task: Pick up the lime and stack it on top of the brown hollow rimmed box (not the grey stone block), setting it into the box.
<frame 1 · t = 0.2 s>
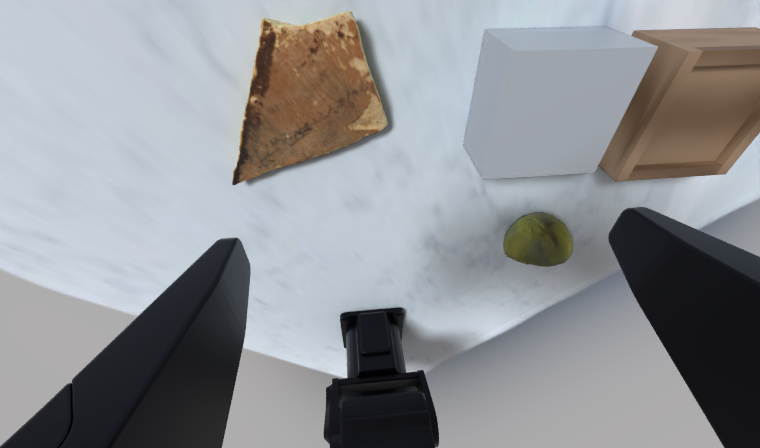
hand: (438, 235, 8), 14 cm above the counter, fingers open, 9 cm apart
lime: (522, 219, 29), on the counter
shard: (317, 111, 21), on the counter
grey stone block: (528, 92, 21), on the counter
brown hollow rimmed box: (659, 94, 22), on the counter
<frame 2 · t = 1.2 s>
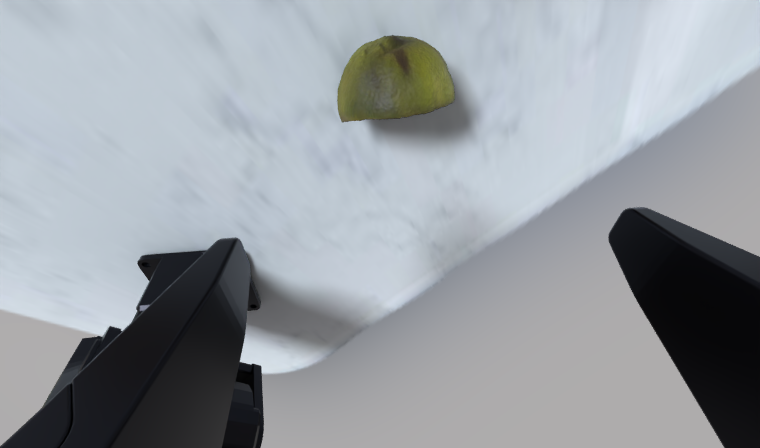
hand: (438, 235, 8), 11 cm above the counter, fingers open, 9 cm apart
lime: (385, 72, 17), on the counter
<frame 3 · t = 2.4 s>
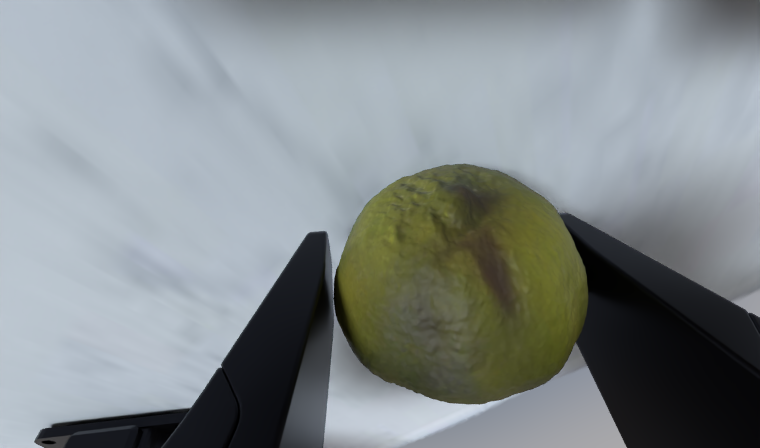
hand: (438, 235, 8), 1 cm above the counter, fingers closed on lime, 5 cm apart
lime: (421, 198, 9), on the counter, touching gripper
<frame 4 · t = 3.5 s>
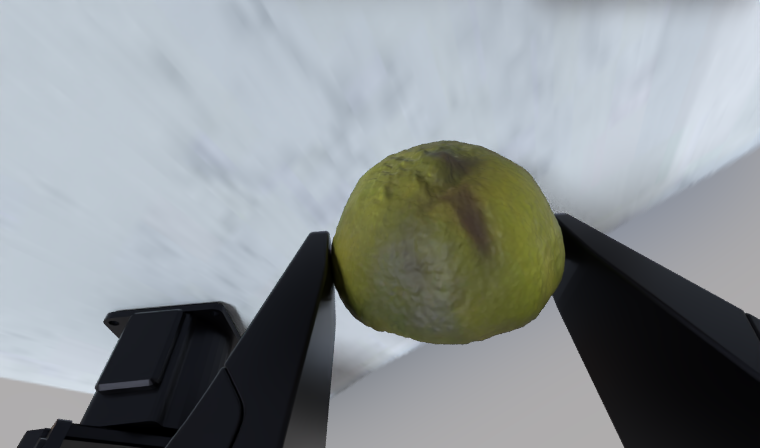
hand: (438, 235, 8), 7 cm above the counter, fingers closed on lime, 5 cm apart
lime: (414, 182, 10), point 5 cm above the counter, touching gripper
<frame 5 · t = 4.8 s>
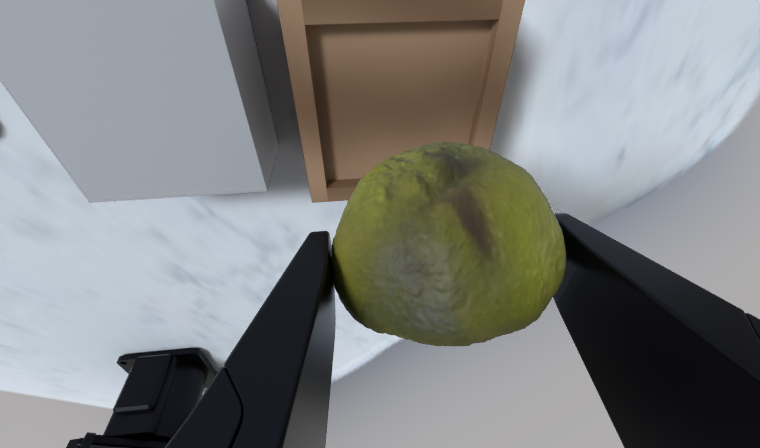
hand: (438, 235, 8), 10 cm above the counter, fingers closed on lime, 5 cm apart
lime: (414, 184, 10), point 8 cm above the counter, touching gripper
grey stone block: (178, 74, 14), on the counter
brown hollow rimmed box: (387, 78, 15), on the counter
when the fingers open (6 cm above the counter, at t = 5.9 s): lime stays where it is, resting on brown hollow rimmed box.
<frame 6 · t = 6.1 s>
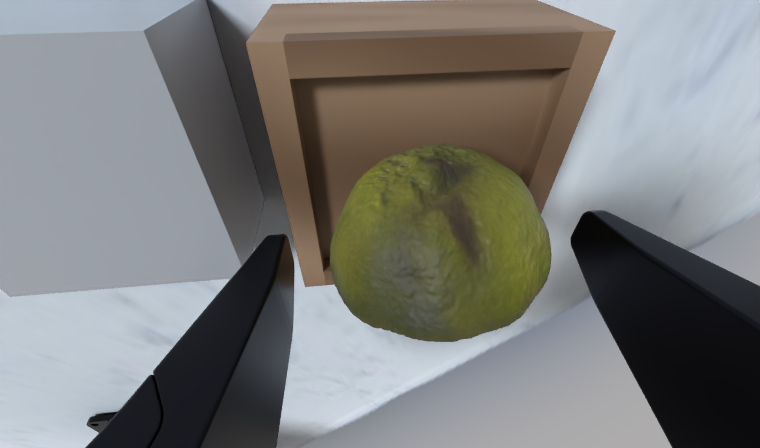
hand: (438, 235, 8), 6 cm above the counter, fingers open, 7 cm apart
lime: (410, 179, 10), point 3 cm above the counter, touching brown hollow rimmed box
grey stone block: (131, 123, 11), on the counter
brown hollow rimmed box: (400, 124, 12), on the counter
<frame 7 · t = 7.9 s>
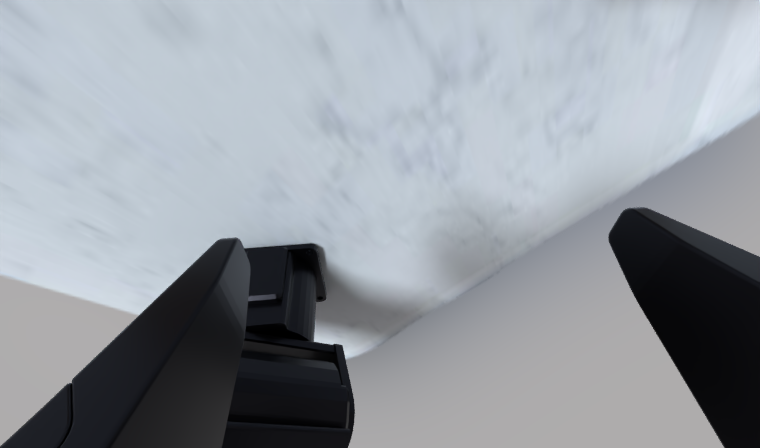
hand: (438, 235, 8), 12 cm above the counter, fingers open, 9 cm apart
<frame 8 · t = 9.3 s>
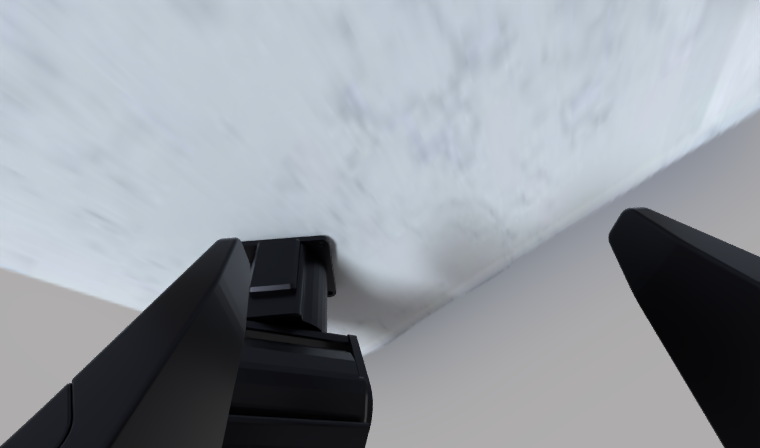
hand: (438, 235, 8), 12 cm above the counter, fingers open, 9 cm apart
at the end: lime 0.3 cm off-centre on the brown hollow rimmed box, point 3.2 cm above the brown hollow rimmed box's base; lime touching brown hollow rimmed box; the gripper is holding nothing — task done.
